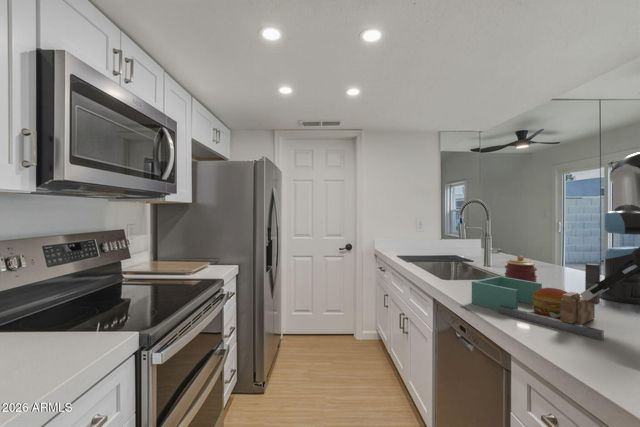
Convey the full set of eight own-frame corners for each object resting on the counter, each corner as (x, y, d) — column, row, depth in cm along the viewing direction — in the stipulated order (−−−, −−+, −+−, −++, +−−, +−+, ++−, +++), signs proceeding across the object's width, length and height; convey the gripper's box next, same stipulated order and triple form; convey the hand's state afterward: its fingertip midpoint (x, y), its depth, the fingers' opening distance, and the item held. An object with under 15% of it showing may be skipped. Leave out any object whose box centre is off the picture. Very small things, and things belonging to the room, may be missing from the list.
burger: (532, 307, 122) (532, 282, 122) (576, 314, 114) (576, 288, 114) (530, 316, 112) (530, 289, 112) (578, 325, 104) (579, 295, 104)
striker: (585, 315, 112) (586, 260, 112) (605, 320, 107) (606, 263, 107) (560, 328, 99) (560, 266, 99) (581, 334, 94) (582, 269, 94)
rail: (501, 312, 116) (501, 305, 116) (603, 338, 92) (603, 330, 92) (498, 312, 115) (498, 306, 115) (601, 340, 91) (601, 331, 91)
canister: (500, 288, 154) (500, 253, 154) (529, 290, 151) (529, 254, 151) (510, 295, 141) (510, 256, 141) (542, 297, 138) (542, 257, 138)
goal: (498, 295, 140) (498, 276, 140) (541, 305, 126) (541, 283, 126) (471, 303, 128) (471, 281, 128) (515, 314, 114) (516, 290, 114)
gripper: (664, 266, 85) (587, 310, 99) (675, 261, 94) (603, 302, 108) (637, 245, 89) (567, 290, 103) (650, 242, 98) (584, 284, 112)
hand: (585, 296), depth 105 cm, fingers closed on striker, 3 cm apart
